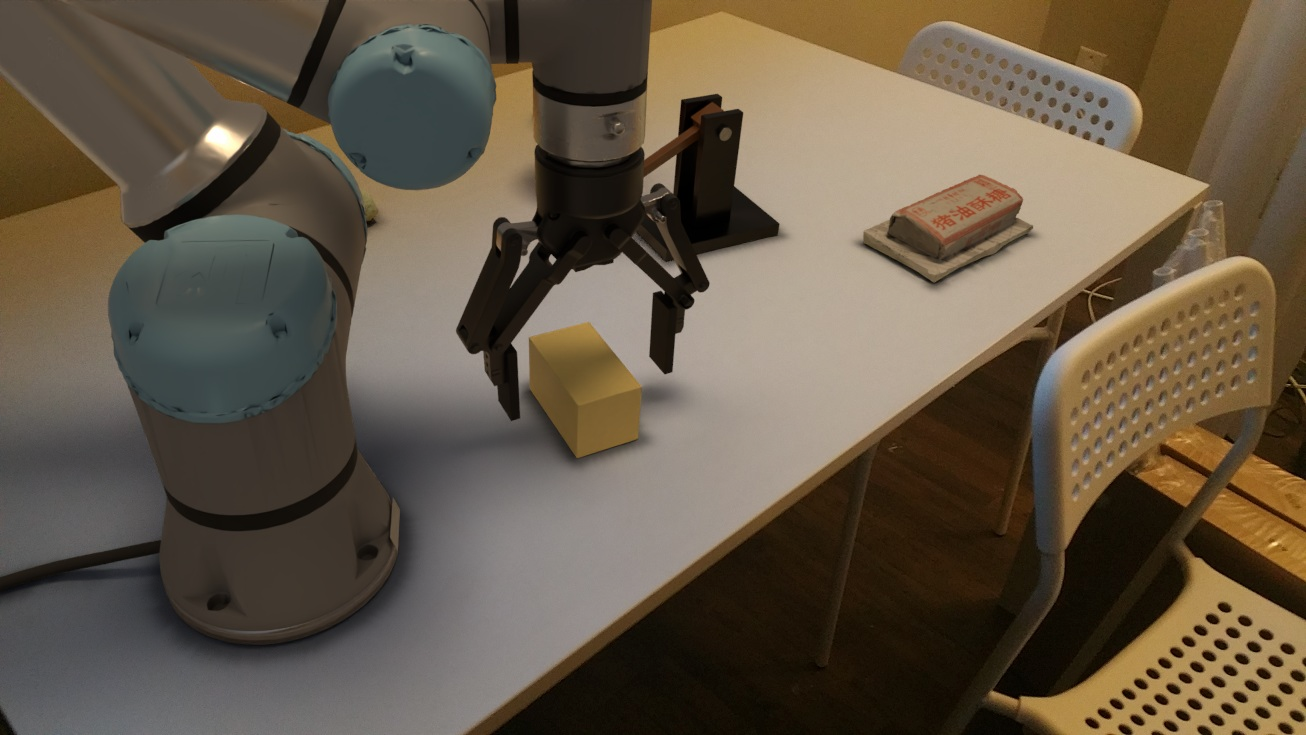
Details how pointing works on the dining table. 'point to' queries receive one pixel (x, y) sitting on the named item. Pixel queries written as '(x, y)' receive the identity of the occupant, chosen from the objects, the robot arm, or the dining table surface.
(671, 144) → the arm
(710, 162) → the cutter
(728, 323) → the dining table surface
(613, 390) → the butter
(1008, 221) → the packaged product
